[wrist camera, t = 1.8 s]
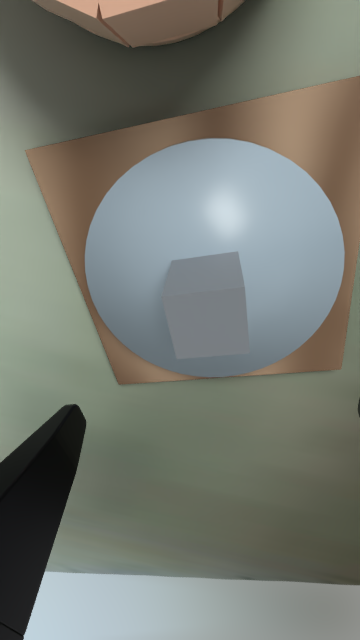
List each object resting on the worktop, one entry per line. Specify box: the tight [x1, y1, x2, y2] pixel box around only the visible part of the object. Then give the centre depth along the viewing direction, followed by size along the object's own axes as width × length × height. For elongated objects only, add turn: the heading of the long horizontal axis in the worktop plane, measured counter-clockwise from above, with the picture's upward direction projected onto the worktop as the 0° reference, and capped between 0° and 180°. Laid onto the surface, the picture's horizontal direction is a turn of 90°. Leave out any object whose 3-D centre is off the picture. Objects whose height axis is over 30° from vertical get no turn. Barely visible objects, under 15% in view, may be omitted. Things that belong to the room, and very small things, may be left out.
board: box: [25, 76, 360, 384], centre depth 18 cm, size 16×16×1 cm
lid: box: [85, 138, 345, 377], centre depth 15 cm, size 14×14×5 cm
